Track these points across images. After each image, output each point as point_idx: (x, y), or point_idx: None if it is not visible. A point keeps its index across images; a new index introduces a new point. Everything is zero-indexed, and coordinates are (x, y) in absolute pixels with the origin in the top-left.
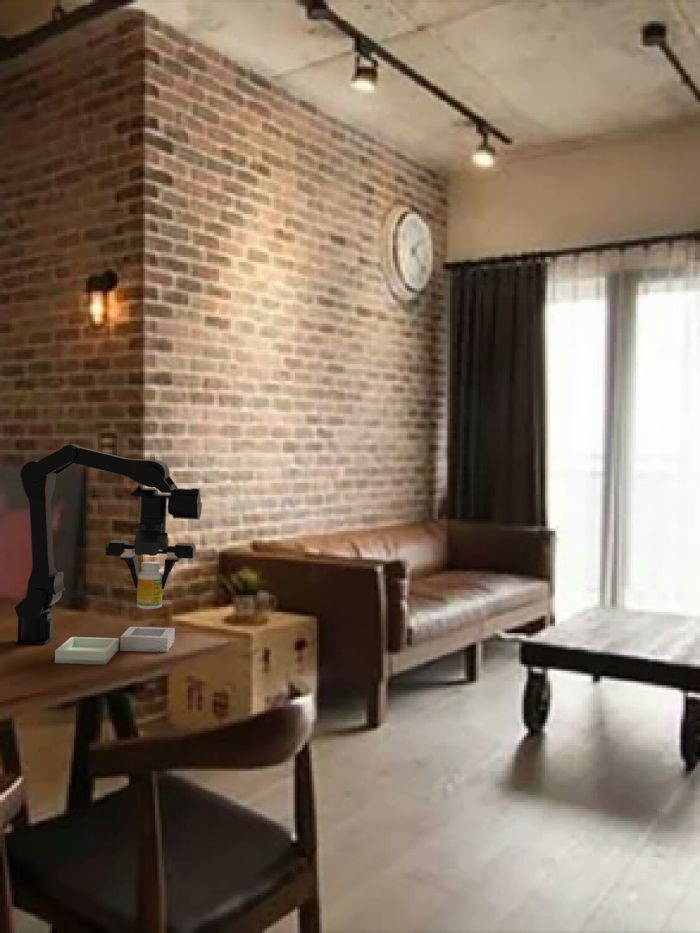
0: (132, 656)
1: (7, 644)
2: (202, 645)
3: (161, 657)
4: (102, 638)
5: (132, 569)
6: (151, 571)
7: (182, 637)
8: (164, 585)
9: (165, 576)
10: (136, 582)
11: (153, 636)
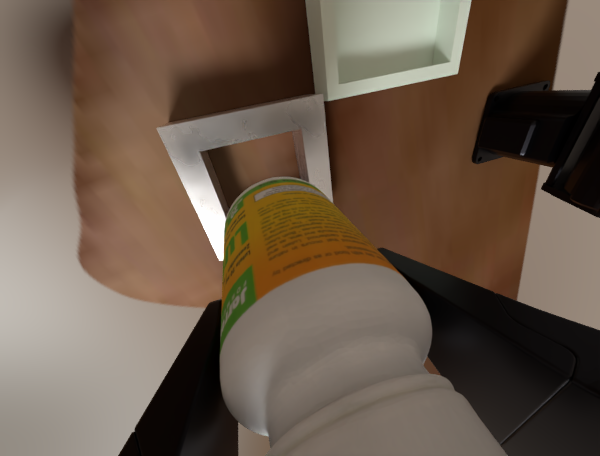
0: (244, 22)
1: (555, 74)
2: (123, 234)
3: (139, 35)
4: (373, 83)
5: (538, 328)
6: (325, 390)
7: (222, 275)
8: (199, 321)
9: (171, 400)
10: (398, 266)
11: (221, 137)
